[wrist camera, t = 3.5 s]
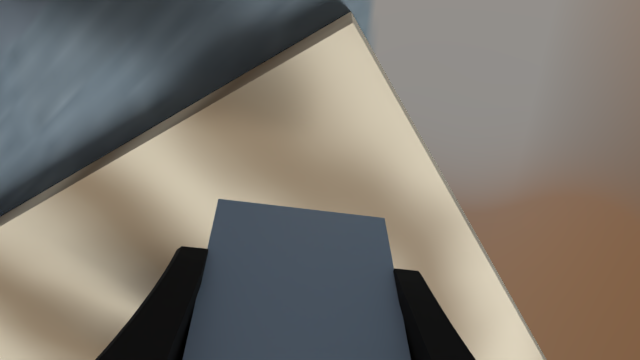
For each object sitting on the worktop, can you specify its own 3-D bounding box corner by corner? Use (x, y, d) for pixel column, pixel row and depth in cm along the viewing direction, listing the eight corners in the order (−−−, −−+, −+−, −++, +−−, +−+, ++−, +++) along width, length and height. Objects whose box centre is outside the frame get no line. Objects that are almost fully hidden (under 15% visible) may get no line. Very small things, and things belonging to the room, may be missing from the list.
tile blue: (370, 266, 15) (407, 544, 9) (215, 249, 15) (156, 533, 9) (384, 218, 14) (436, 498, 8) (218, 199, 14) (155, 482, 8)
